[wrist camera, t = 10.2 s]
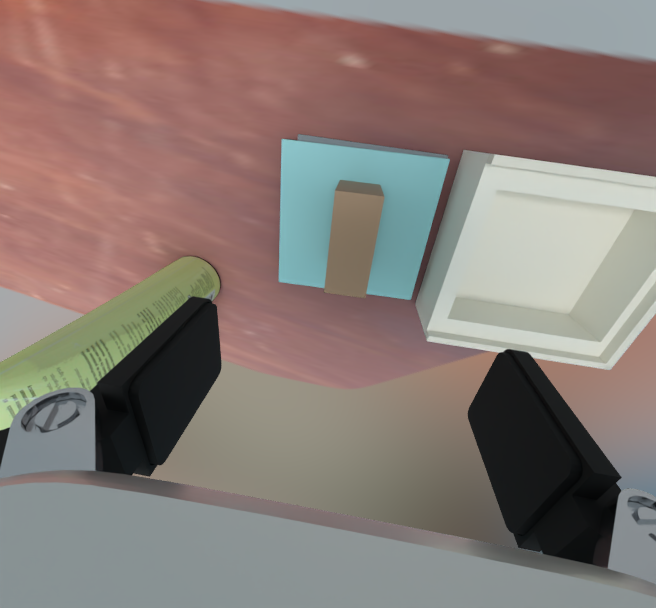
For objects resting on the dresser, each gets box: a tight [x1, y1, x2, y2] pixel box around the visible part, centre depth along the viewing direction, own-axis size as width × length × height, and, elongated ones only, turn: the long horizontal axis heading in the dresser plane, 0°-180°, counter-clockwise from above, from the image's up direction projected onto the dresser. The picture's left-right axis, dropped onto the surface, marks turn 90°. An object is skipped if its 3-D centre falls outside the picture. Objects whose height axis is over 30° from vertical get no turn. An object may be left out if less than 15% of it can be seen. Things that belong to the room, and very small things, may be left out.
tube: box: [0, 256, 220, 430], centre depth 20 cm, size 6×5×20 cm
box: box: [415, 150, 656, 370], centre depth 22 cm, size 14×13×6 cm
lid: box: [279, 139, 450, 300], centre depth 22 cm, size 12×11×6 cm
